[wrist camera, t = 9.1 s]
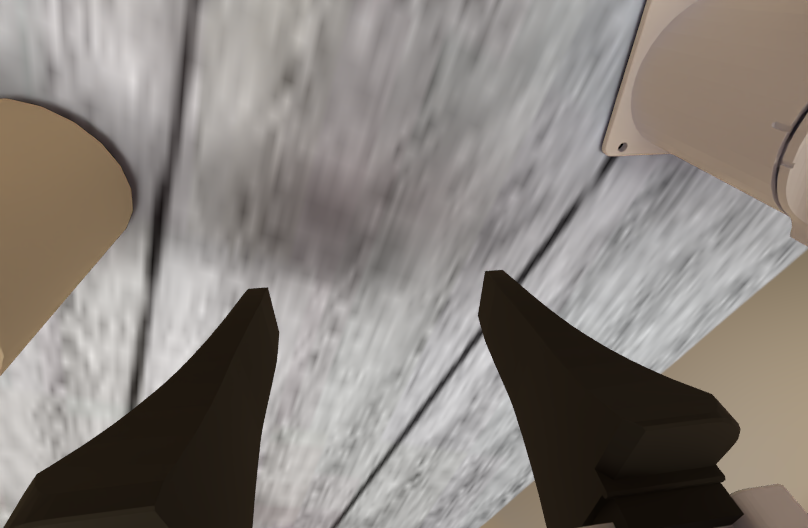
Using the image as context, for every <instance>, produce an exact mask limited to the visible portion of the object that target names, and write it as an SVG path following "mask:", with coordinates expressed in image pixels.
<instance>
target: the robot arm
mask: <svg viewBox="0 0 808 528" xmlns="http://www.w3.org/2000/svg"><path fill="white" fill-rule="evenodd" d="M622 143H623V146H622V147H621V148H620V149H618V147H619V145H620V144H622ZM602 151H603V153H605V154H606V155H607V156H629V155H653V154H673V155H675V156H677V157H679V158H681V159H682V160H684V161H686V162H688V163H690V164H692V165H694V166H696V167H697V168H699V169H701V170H703V171H705V172H707V173H709V174H711V175H712V176H714V177H716V178H718V179H720V180H722V181H724V182H726V183H727V184H729V185H731V186H733V187H735V188H737V189H739V190H741V191H742V192H744V193H746V194H748V195H750V196H752V197H754V198H756V199H757V200H759V201H761V202H763V203H765V204H767V205H769V206H771V207H773V208H774V209H776V210H778V211H780V212H782V213H784V214H786V215H788V216H789V217H790V218H791V221H792V229H791V233H790V237H792V238H794V239H795V240H797V241H799V242H801V243H802V244H804V245H806V246H807V247H808V0H647V2H646V6H645V9H644V12H643V15H642V18H641V22H640V25H639V28H638V31H637V35H636V38H635V41H634V44H633V48H632V51H631V54H630V57H629V61H628V64H627V67H626V70H625V74H624V77H623V80H622V83H621V86H620V90H619V93H618V96H617V99H616V103H615V106H614V109H613V112H612V116H611V119H610V122H609V125H608V129H607V132H606V135H605V138H604V142H603V145H602ZM478 317H479V321H480V325H481V329H482V332H483V335H484V339H485V342H486V344H487V347H488V349H489V351H490V354H491V356H492V358H493V361H494V363H495V365H496V368H497V370H498V372H499V375H500V377H501V379H502V381H503V384H504V386H505V388H506V391H507V393H508V395H509V398H510V400H511V403H512V405H513V408H514V411H515V414H516V417H517V421H518V424H519V427H520V430H521V433H522V436H523V440H524V443H525V447H526V450H527V453H528V457H529V460H530V464H531V467H532V471H533V475H534V479H535V482H536V486H537V490H538V493H539V497H540V502H541V506H542V510H543V514H544V518H545V522H546V526H547V528H808V513H807V512H806V511H805V510H804V509H803V508H802V507H801V505H800V504H799V503H798V502H797V501H796V500H795V499H794V498H793V496H792V495H791V494H790V493H789V492H788V491H787V489H786V488H785V487H784V486H783V485H780V484H774V485H767V486H761V487H754V488H747V489H742V490H738V491H736V492H734V493H731V494H730V495H729V493H728V492H727V491H726V489H725V488H724V487H723V485H722V484H721V483H720V482H723V481H724V480H725V476H724V474H723V473H722V472H721V470H719V468H718V467H717V465H716V464H717V462H718V461H719V460H720V459H721V458H722V457H723V456H724V455H725V454H726V453H727V452H728V451H729V450H730V448H731V447H732V446H733V445H734V444H735V442H736V441H737V440H738V437H739V434H740V427H739V424H738V423H737V422H736V420H735V419H734V418H733V417H732V416H731V415H730V414H729V413H728V411H727V410H726V409H725V408H724V407H723V406H722V405H721V404H720V403H719V401H718V400H717V399H716V398H715V397H714V396H713V395H712V394H710V393H707V392H704V391H702V390H699V389H697V388H694V387H692V386H689V385H686V384H684V383H681V382H678V381H676V380H673V379H671V378H668V377H666V376H664V375H662V374H659V373H657V372H655V371H653V370H650V369H648V368H646V367H644V366H642V365H640V364H638V363H635V362H633V361H631V360H629V359H627V358H626V357H624V356H622V355H620V354H618V353H616V352H614V351H612V350H610V349H609V348H607V347H605V346H603V345H602V344H600V343H598V342H597V341H595V340H593V339H592V338H590V337H589V336H587V335H585V334H584V333H582V332H581V331H579V330H578V329H576V328H575V327H573V326H572V325H570V324H569V323H567V322H566V321H565V320H563V319H562V318H561V317H559V316H558V315H556V314H555V313H554V312H553V311H551V310H550V309H549V308H547V307H546V306H545V305H544V304H542V303H541V302H540V301H539V300H537V299H536V298H535V297H534V296H533V295H531V294H530V293H529V292H528V291H527V290H525V289H524V288H523V287H522V286H521V285H520V284H518V283H517V282H516V281H515V280H514V279H513V278H511V277H510V276H509V275H508V274H507V273H506V272H504V271H503V270H495V271H485V275H484V281H483V287H482V294H481V300H480V306H479V312H478ZM278 342H279V330H278V326H277V322H276V318H275V314H274V310H273V306H272V302H271V298H270V294H269V290H268V287H267V288H254V289H248V290H247V291H246V292H245V293H244V294H243V296H242V297H241V298H240V300H239V301H238V302H237V304H236V305H235V306H234V307H233V309H232V310H231V311H230V313H229V314H228V315H227V316H226V318H225V319H224V320H223V321H222V323H221V324H220V325H219V326H218V327H217V329H216V330H215V331H214V332H213V334H212V335H211V336H210V337H209V338H208V339H207V341H206V342H205V343H204V344H203V345H202V346H201V347H200V348H199V349H198V350H197V351H196V353H195V354H194V355H193V356H192V357H191V358H190V359H189V360H188V361H187V362H186V363H185V364H184V365H183V366H182V367H181V368H180V369H179V370H178V371H177V372H176V373H175V374H174V375H173V376H172V377H171V378H170V379H169V380H168V381H166V382H165V383H164V384H163V385H162V386H161V387H160V388H159V389H157V390H156V391H155V392H154V393H152V394H151V395H150V396H149V397H148V398H146V399H145V400H144V401H143V402H141V403H140V404H139V405H138V406H137V407H135V408H134V409H133V410H132V411H130V412H129V413H128V414H126V415H125V416H124V417H122V418H121V419H120V420H118V421H117V422H116V423H114V424H113V425H112V426H110V427H109V428H107V429H106V430H105V431H103V432H102V433H100V434H99V435H97V436H96V437H95V438H93V439H92V440H90V441H89V442H87V443H86V444H84V445H83V446H81V447H80V448H78V449H76V450H75V451H73V452H72V453H70V454H68V455H67V456H65V457H64V458H62V459H61V460H59V461H57V462H56V463H54V464H53V465H51V466H50V467H48V468H46V469H45V470H43V471H41V472H40V473H38V474H37V475H36V476H35V478H34V479H33V481H32V482H31V484H30V485H29V487H28V488H27V490H26V491H25V493H24V494H23V496H22V498H21V499H20V501H19V503H18V504H17V506H16V508H15V509H14V511H13V513H12V514H11V516H10V518H9V519H8V521H7V523H6V524H5V526H4V528H252V527H253V514H254V501H255V490H256V479H257V469H258V460H259V451H260V442H261V435H262V429H263V423H264V419H265V414H266V409H267V405H268V400H269V396H270V391H271V387H272V382H273V377H274V372H275V368H276V363H277V354H278Z"/></svg>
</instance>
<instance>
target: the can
mask: <svg viewBox="0 0 808 528" xmlns="http://www.w3.org/2000/svg"><path fill="white" fill-rule="evenodd" d="M132 212H133V205H132V193H131V188H130V186H129V184H128V181H127V179H126V177H125V175H124V173H123V170H122V168H121V166H120V165H119V164H118V163H117V161H116V160H115V159H114V158H113V157H112V155H111V154H110V153H109V152H108V151H107V149H106V148H105V147H104V146H103V145H102V143H100V142H99V141H98V140H97V139H95V138H94V137H93V136H91V135H90V134H89V133H87V132H86V131H85V130H83V129H82V128H81V127H80V126H78V125H77V124H76V123H74V122H73V121H70V120H68V119H66V118H64V117H62V116H60V115H58V114H56V113H54V112H52V111H50V110H47V109H45V108H43V107H41V106H37V105H33V104H28V103H24V102H20V101H15V100H11V99H0V376H1V375H2V374H3V372H4V371H5V370H6V369H7V368H8V366H9V365H10V364H11V363H12V362H13V361H14V359H15V358H16V357H17V356H18V355H19V354H20V352H21V351H22V350H23V349H24V348H25V346H26V345H27V344H28V343H29V342H30V341H31V339H32V338H33V337H34V336H35V335H36V334H37V332H38V331H39V330H40V329H41V328H42V327H43V325H44V324H45V323H46V322H47V321H48V319H49V318H50V317H51V316H52V315H53V314H54V312H55V311H56V310H57V309H58V308H59V307H60V305H61V304H62V303H63V302H64V301H65V299H66V298H67V297H68V296H69V295H70V294H71V292H72V291H73V290H74V289H75V288H76V287H77V285H78V284H79V283H80V282H81V281H82V280H83V278H84V277H85V276H86V275H87V274H88V272H89V271H90V270H91V269H92V268H93V267H94V265H95V264H96V263H97V262H98V261H99V260H100V258H101V257H102V256H103V255H104V254H105V253H106V251H107V250H108V249H109V248H110V247H111V245H112V244H113V243H114V242H115V241H116V240H117V238H118V237H119V236H120V235H121V234H122V233H123V231H124V230H125V229H126V228H127V225H128V222H129V220H130V217H131V214H132Z"/></svg>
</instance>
